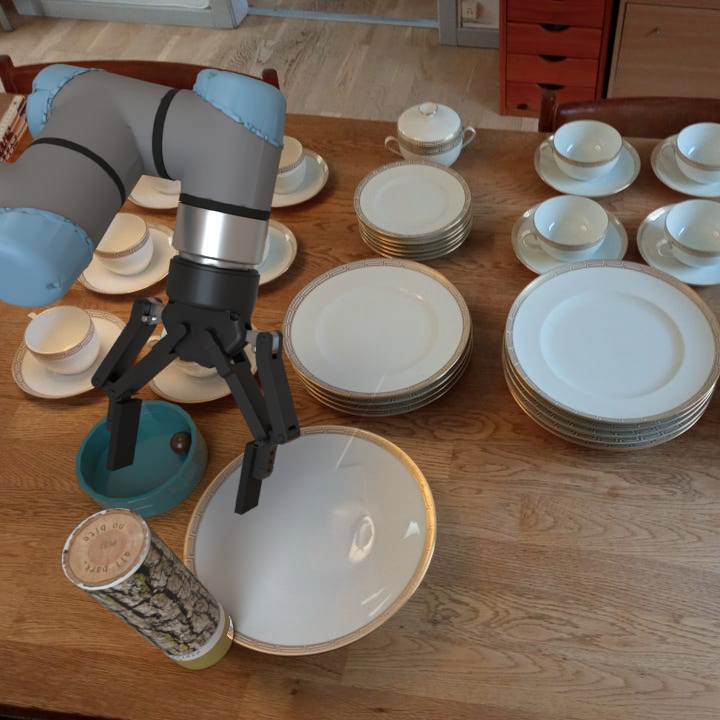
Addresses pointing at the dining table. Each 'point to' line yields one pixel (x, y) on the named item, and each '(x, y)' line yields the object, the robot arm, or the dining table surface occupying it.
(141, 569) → the paper tube
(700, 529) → the dining table surface
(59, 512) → the dining table surface
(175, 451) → the bead
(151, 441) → the bowl
